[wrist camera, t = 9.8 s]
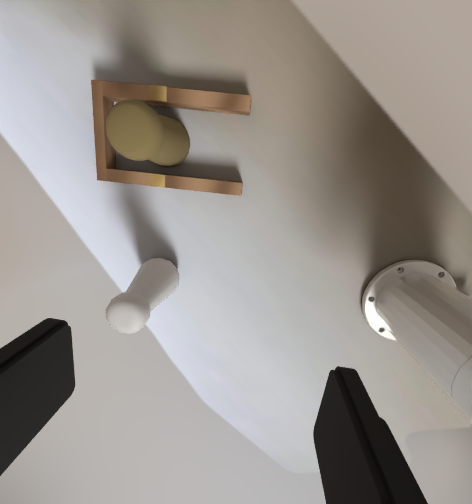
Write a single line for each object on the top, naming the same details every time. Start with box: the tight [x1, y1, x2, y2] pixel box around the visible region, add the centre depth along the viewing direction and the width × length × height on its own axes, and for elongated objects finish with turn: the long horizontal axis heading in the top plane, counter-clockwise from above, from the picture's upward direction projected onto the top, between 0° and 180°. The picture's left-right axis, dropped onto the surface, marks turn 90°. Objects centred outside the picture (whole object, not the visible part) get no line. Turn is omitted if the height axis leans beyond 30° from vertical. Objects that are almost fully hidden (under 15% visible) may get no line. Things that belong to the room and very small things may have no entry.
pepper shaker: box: [105, 100, 190, 167], centre depth 28 cm, size 6×6×11 cm
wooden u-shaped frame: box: [91, 80, 251, 196], centre depth 31 cm, size 18×11×3 cm, turn 84°
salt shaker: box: [106, 258, 179, 334], centre depth 32 cm, size 6×6×13 cm
